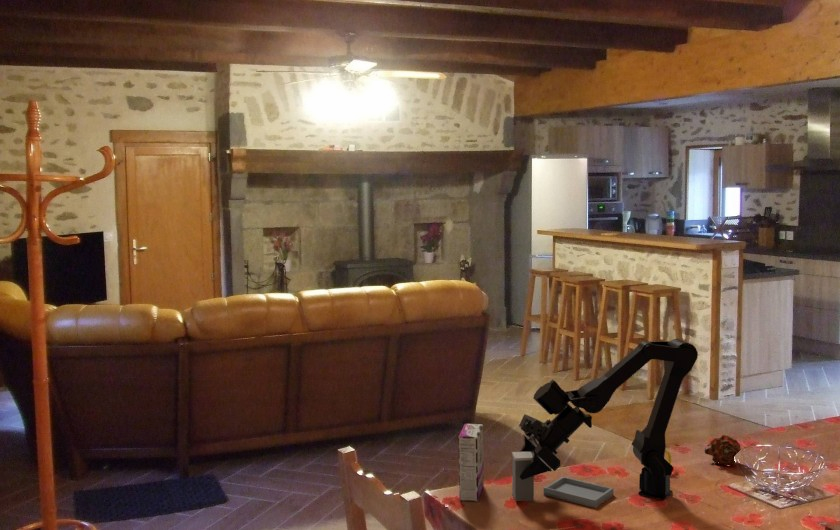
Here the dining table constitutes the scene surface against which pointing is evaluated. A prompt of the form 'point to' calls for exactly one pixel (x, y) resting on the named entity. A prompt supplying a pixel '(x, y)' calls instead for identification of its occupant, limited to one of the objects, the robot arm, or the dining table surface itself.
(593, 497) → the tray
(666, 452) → the watch
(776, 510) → the dining table surface
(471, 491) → the candy bar box
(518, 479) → the grey tall block
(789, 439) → the dining table surface
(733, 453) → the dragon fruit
